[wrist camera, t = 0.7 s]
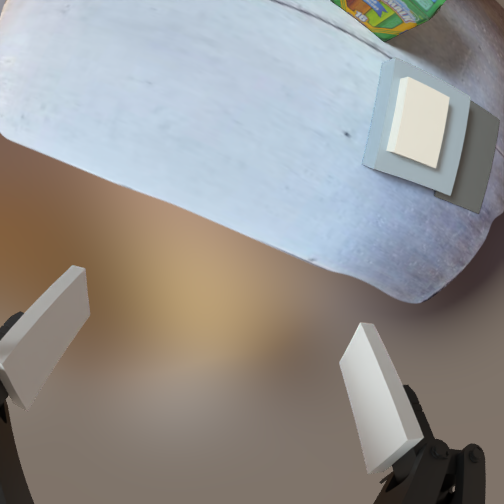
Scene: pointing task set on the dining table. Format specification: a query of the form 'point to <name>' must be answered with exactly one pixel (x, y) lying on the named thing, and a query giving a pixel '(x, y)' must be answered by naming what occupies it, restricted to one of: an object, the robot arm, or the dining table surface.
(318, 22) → the dining table surface
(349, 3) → the chalk box
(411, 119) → the thick cream block
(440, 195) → the mat
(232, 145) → the dining table surface
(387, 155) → the grey flat block
